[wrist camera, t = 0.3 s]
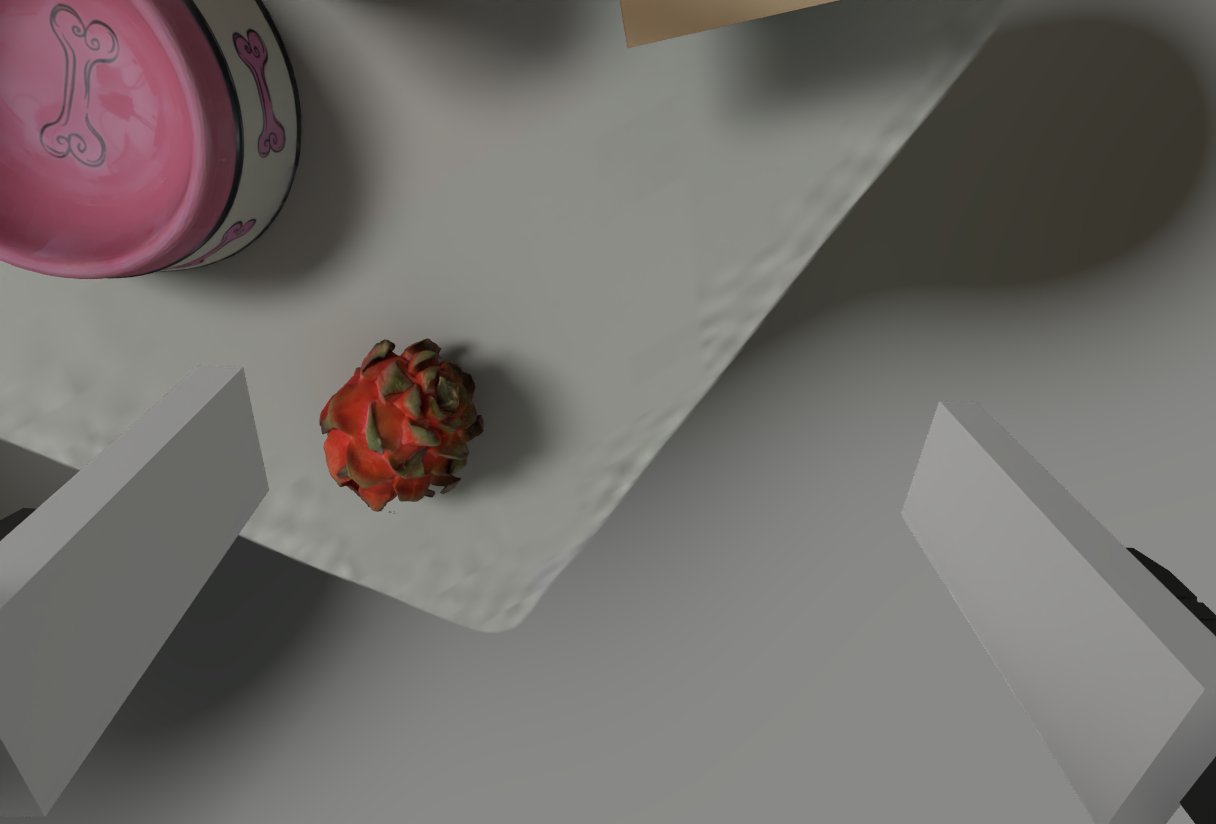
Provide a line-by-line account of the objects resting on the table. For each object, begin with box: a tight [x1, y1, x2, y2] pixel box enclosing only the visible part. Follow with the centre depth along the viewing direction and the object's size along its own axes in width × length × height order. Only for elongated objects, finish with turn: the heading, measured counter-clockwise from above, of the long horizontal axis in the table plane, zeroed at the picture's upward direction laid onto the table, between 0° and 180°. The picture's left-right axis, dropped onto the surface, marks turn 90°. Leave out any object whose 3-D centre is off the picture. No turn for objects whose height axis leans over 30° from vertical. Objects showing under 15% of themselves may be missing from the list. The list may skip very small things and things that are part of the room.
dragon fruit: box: [319, 339, 484, 514], centre depth 40 cm, size 8×8×12 cm
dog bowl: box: [0, 0, 301, 279], centre depth 32 cm, size 18×19×7 cm
